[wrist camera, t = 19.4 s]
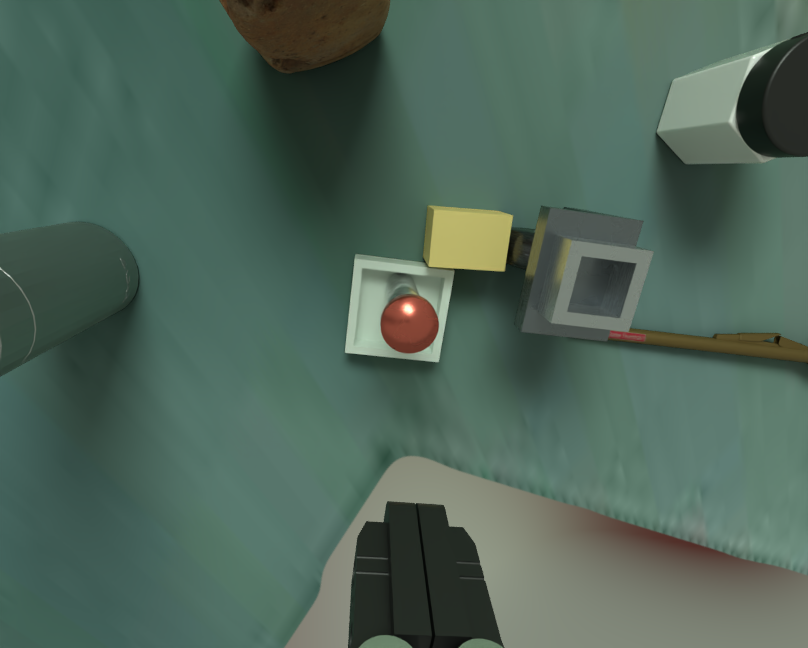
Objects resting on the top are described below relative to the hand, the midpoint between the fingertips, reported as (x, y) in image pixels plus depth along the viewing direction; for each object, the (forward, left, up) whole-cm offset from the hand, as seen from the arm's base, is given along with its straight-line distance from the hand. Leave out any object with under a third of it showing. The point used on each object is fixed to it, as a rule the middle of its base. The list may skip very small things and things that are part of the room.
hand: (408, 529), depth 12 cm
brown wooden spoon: (+38, -4, -36) cm, 52 cm away
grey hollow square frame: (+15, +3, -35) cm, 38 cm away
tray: (+2, -4, -35) cm, 35 cm away
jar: (+28, +18, -35) cm, 48 cm away
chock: (+7, +4, -35) cm, 36 cm away
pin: (+2, -2, -34) cm, 35 cm away
